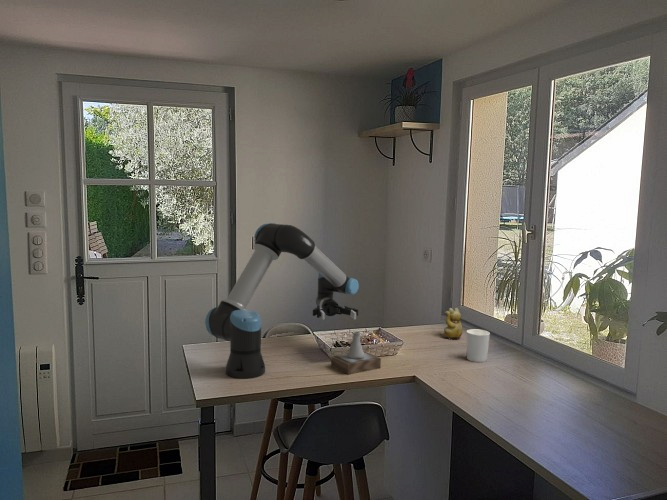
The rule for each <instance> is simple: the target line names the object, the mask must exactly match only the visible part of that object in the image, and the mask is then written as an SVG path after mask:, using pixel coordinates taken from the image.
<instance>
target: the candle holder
mask: <svg viewBox="0 0 667 500" xmlns="http://www.w3.org/2000/svg"><path fill="white" fill-rule="evenodd" d="M490 336H491V333H490V331H487V330H485V329H480V328H479V329H476V328H474V329H472V328H471V329H467V330H466V359H467V360H468V361H471V362H475V363H484V362H487V360H488V354H489V353H488V352H489V344H490Z"/></svg>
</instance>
